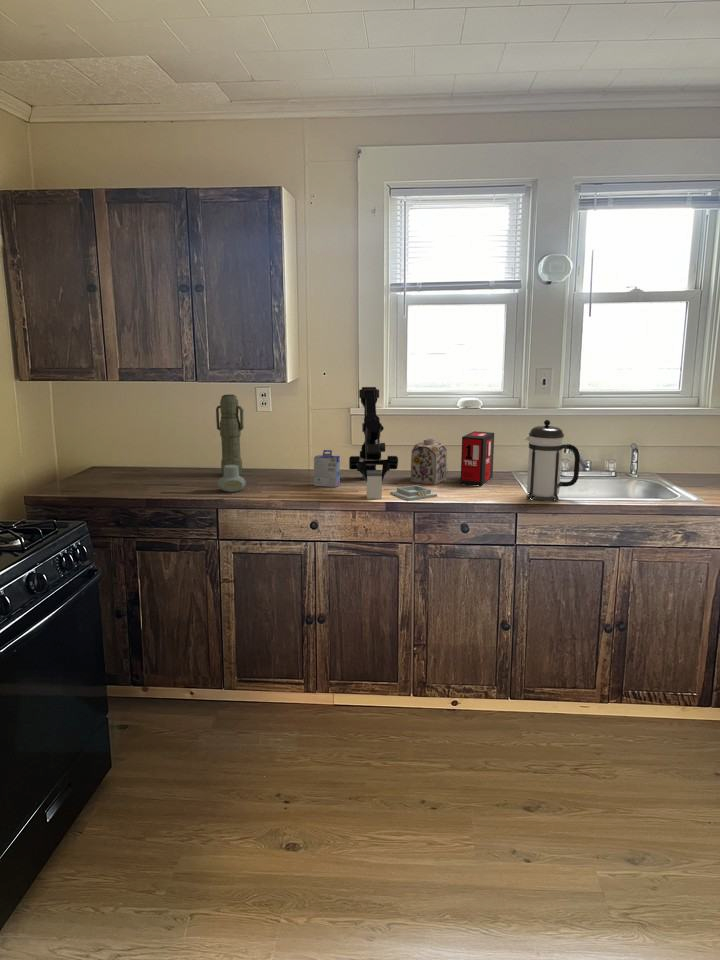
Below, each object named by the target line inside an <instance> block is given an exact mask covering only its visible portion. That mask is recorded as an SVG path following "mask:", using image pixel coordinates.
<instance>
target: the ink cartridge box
mask: <svg viewBox="0 0 720 960" xmlns="http://www.w3.org/2000/svg"><path fill="white" fill-rule="evenodd" d="M332 452H333V450H332V449H323V451H322V454H321V455H316V456H314V457H313V483H314V484H313V486H314V487H329V488H331V487H333V488H335V487H336V488H338V486H341V484H340V482H341V480H340V479H341V477H340V476H341V475H340V474H341V472H340V471H341V470H340V467H341V463H340V462H341V461H340V458H341V456H340V455H333V453H332Z"/></svg>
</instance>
